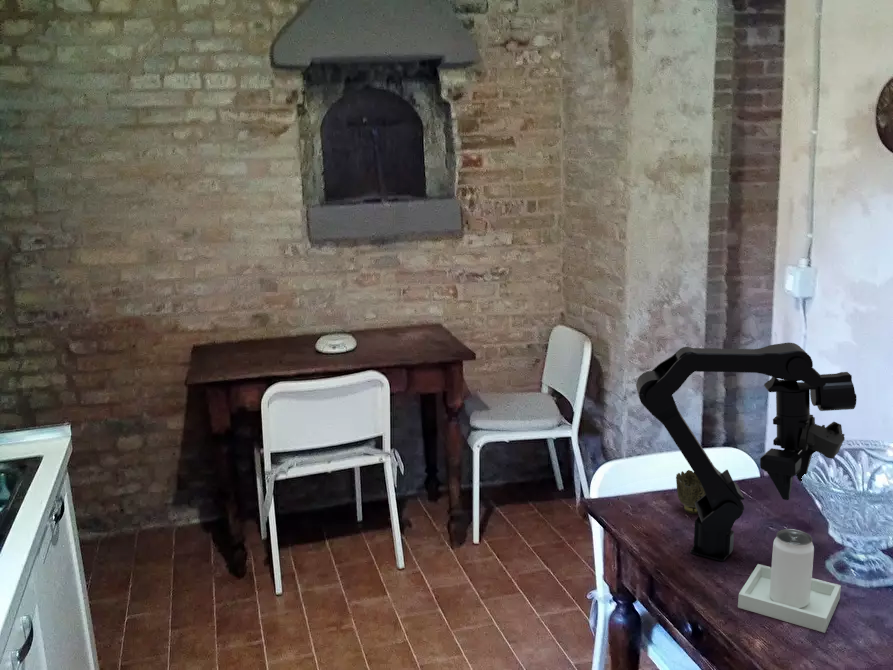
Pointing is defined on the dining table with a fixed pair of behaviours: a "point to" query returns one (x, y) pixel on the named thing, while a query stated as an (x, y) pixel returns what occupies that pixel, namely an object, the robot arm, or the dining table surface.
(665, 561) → the dining table surface
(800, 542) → the can
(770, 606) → the tray
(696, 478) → the olive piece
